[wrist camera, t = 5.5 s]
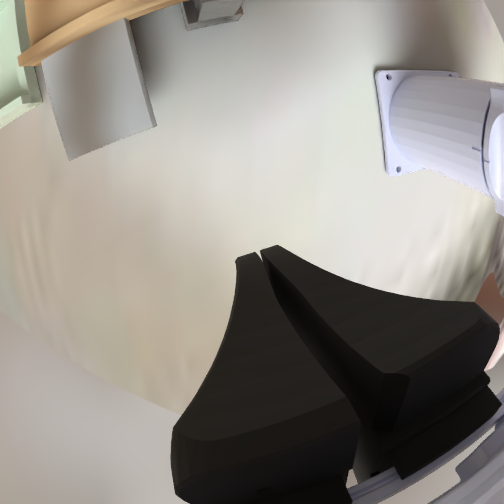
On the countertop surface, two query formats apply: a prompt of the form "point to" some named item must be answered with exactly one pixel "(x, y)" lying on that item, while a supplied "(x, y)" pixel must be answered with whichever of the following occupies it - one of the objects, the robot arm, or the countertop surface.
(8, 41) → the dish
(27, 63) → the lever
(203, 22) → the fulcrum
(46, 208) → the countertop surface
